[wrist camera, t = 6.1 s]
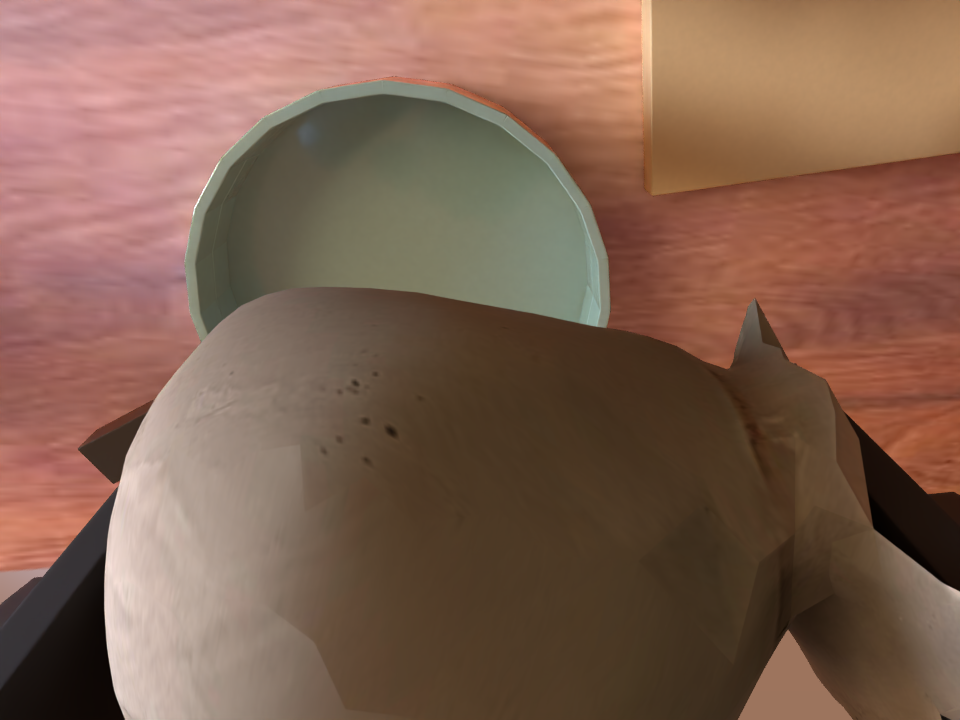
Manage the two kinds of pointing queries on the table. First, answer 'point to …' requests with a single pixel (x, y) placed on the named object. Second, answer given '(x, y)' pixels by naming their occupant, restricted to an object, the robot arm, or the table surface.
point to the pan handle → (114, 443)
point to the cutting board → (794, 87)
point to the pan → (396, 207)
